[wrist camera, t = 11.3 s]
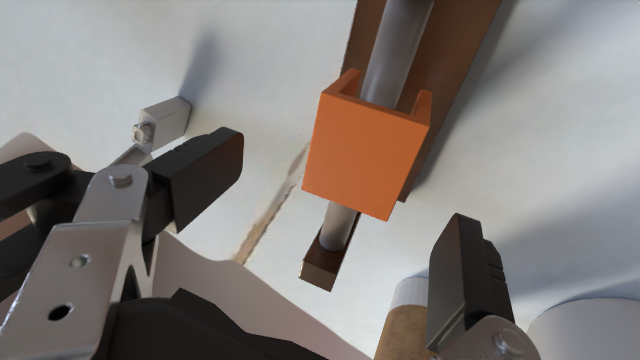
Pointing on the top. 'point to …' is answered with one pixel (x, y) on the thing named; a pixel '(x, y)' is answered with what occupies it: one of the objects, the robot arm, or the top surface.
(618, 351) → the cylinder vase
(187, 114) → the lighter
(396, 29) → the handle stand
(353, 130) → the clip
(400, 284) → the coffee cup
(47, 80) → the top surface
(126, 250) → the robot arm
